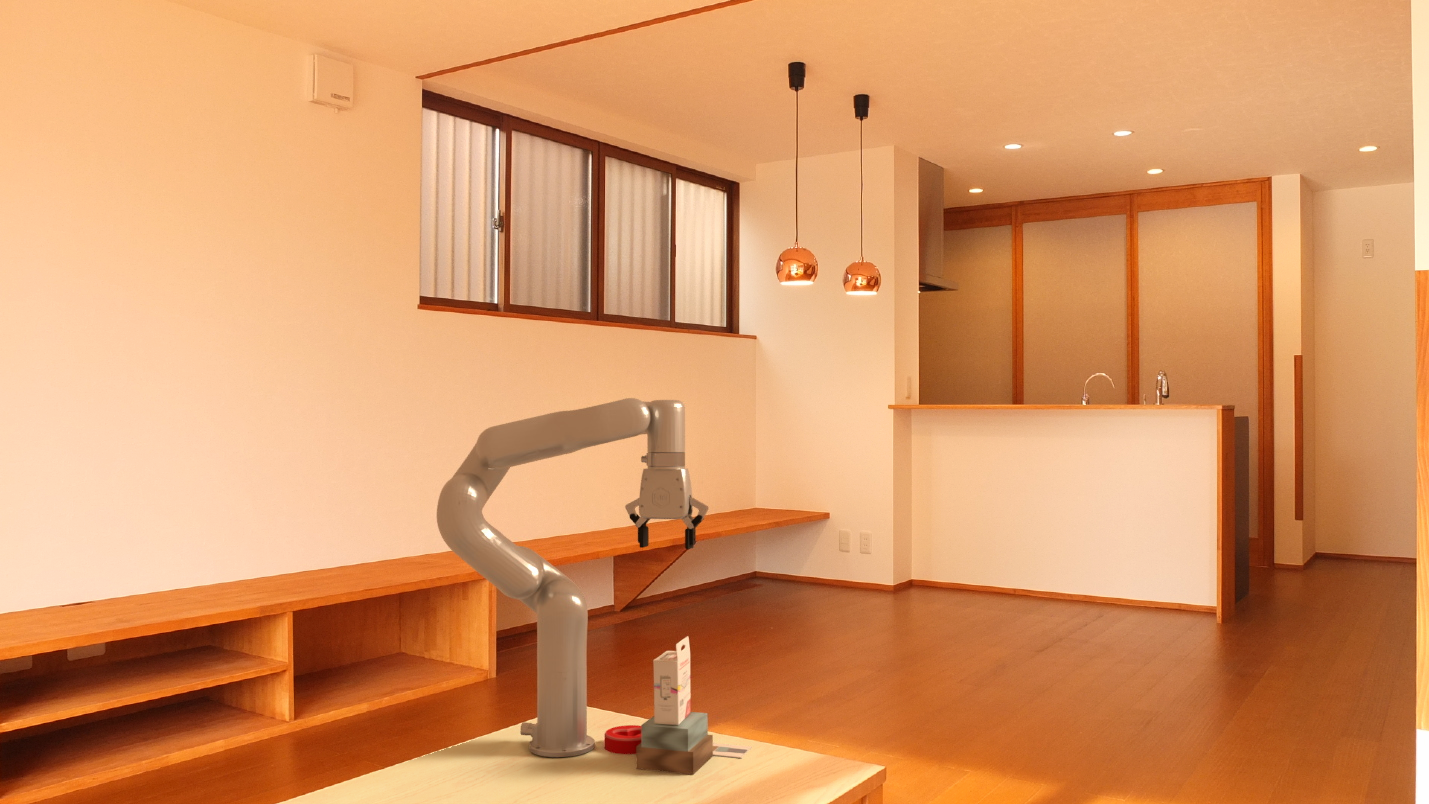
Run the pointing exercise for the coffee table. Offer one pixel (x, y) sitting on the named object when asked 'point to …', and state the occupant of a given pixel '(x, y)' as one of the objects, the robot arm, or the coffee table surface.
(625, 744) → the decorative ornament
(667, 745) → the pedestal
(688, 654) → the ink cartridge box
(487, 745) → the coffee table surface
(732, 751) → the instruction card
